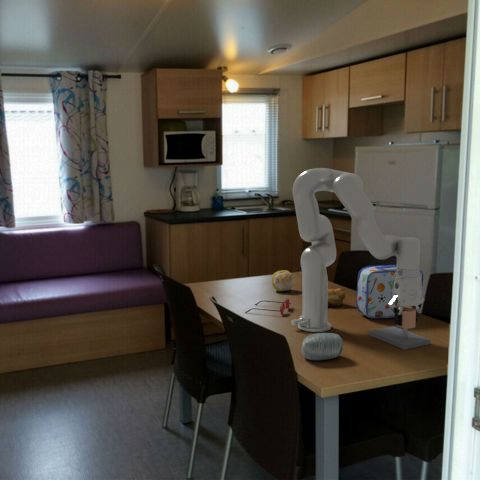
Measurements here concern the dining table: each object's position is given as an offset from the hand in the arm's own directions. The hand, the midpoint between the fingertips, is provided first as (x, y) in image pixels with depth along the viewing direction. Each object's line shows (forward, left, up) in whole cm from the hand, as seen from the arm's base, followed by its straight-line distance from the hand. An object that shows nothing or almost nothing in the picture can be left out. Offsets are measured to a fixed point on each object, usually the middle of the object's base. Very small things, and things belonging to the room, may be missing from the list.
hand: (405, 322), depth 201 cm
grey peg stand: (0, +3, -7) cm, 8 cm away
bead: (0, 0, -1) cm, 1 cm away
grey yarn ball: (-35, +1, -7) cm, 36 cm away
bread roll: (+6, +52, -7) cm, 53 cm away
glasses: (-21, +58, -8) cm, 62 cm away
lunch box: (+18, +27, -7) cm, 33 cm away
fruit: (+2, +83, -7) cm, 83 cm away
